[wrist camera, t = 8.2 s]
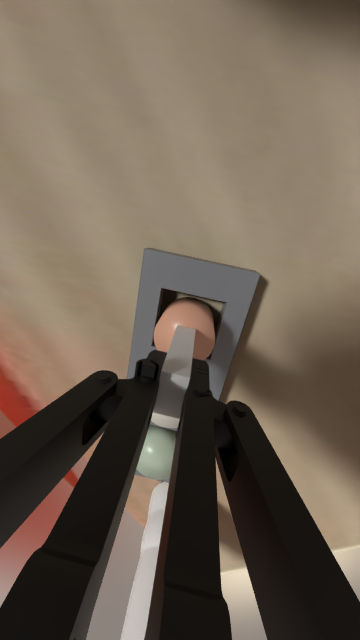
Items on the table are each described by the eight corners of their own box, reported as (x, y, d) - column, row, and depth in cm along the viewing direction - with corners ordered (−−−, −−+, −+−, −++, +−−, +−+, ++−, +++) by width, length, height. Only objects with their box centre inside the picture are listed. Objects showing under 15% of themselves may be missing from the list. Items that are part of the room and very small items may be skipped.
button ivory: (156, 359, 24) (146, 381, 20) (200, 370, 24) (198, 394, 20) (149, 395, 26) (139, 421, 22) (190, 405, 26) (187, 433, 22)
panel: (150, 247, 20) (144, 248, 18) (255, 270, 20) (260, 273, 18) (120, 455, 30) (114, 469, 28) (190, 472, 30) (189, 488, 28)
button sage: (145, 414, 27) (136, 442, 23) (185, 424, 27) (181, 453, 23) (140, 443, 29) (130, 473, 25) (177, 452, 28) (173, 484, 25)
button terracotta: (167, 291, 20) (158, 303, 17) (219, 303, 20) (222, 317, 16) (158, 338, 22) (149, 358, 18) (206, 349, 22) (206, 371, 18)
